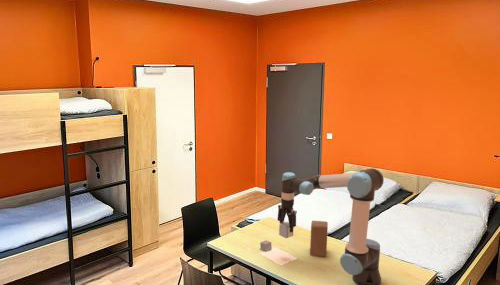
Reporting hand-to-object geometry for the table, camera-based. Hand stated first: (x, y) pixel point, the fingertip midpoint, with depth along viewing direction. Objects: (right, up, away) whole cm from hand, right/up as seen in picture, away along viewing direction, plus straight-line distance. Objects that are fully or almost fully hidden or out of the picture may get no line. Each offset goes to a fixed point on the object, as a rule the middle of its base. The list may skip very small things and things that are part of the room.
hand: (286, 234), depth 233 cm
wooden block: (+22, -15, +11) cm, 28 cm away
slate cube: (0, 0, 0) cm, 0 cm away
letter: (-4, -15, +6) cm, 17 cm away
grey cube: (-11, -13, +15) cm, 23 cm away
